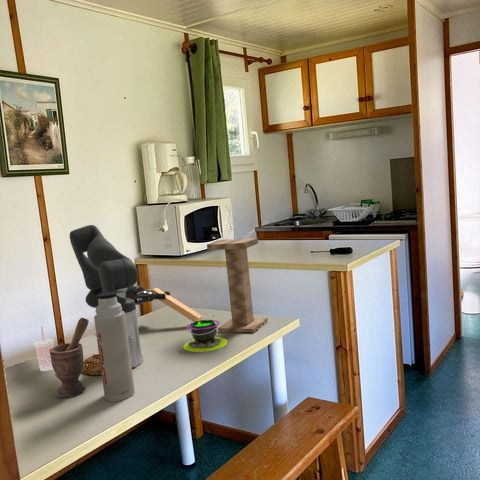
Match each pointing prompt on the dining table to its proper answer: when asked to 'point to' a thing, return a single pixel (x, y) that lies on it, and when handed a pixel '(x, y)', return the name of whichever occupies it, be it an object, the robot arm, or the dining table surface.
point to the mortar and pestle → (70, 362)
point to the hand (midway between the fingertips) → (167, 295)
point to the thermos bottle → (113, 348)
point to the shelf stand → (238, 285)
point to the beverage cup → (44, 352)
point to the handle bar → (178, 306)
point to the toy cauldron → (204, 336)
